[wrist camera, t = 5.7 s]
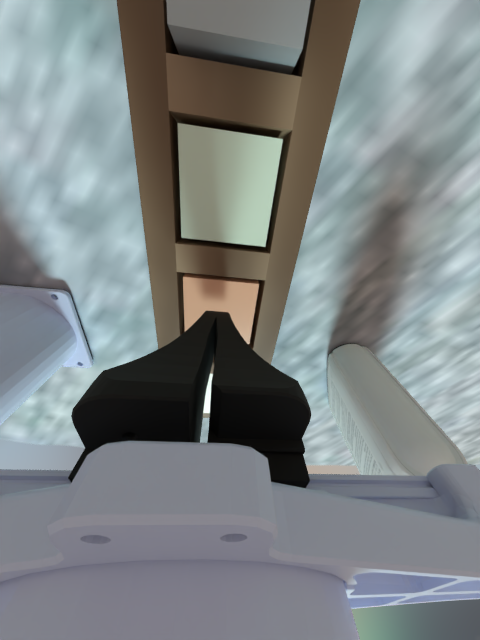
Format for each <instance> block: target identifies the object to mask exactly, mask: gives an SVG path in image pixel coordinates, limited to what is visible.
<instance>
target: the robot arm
mask: <svg viewBox="0 0 480 640" xmlns="http://www.w3.org/2000/svg"><path fill="white" fill-rule="evenodd" d="M54 294H55V295H57V297H58V298H57V297H56V296H55V295H54ZM213 358H214V370H213V377H212V383H211V400H210V419H209V433H208V443H200V436H201V427H202V419H203V410H204V402H205V395H206V389H207V385H208V380H209V376H210V372H211V367H212V363H213ZM92 365H93V360H92V357H91V354H90V351H89V348H88V345H87V342H86V339H85V336H84V333H83V330H82V328H81V325H80V322H79V319H78V316H77V313H76V310H75V307H74V304H73V301H72V298H71V296H70V294H69V293H68V292H67V291H64V290H57V289H45V288H34V287H22V286H10V285H0V425H1V424H2V423H3V422H4V421H5V420H6V419H7V418H8V417H9V416H10V415H11V414H12V413H13V412H14V411H15V410H17V409H18V408H19V407H20V406H21V405H22V404H23V403H24V402H25V401H26V400H27V399H28V398H29V397H30V396H31V395H32V394H33V393H34V392H35V391H36V390H37V389H38V388H39V387H40V386H41V385H42V384H44V383H45V382H46V381H47V380H48V379H49V378H50V377H51V376H52V375H53V374H54V373H55V372H56V371H57V370H58V369H59V368H60V367H61V366H62V367H80V368H90V367H91V366H92ZM310 418H311V411H310V407H309V404H308V402H307V399H306V397H305V395H304V392H303V391H302V389H301V387H300V385H299V383H298V381H296V380H295V379H293V378H291V377H289V376H288V375H286V374H284V373H282V372H281V371H279V370H277V369H276V368H275V367H273V366H272V365H270V364H269V363H268V362H266V361H265V360H264V359H263V358H261V357H260V356H259V355H258V354H257V353H256V352H255V351H254V350H253V349H252V348H251V347H250V346H249V345H248V344H247V343H246V341H245V340H244V339H243V337H242V336H241V335H240V333H239V331H238V330H237V328H236V327H235V325H234V323H233V321H232V319H231V316H230V314H229V313H228V312H219V311H205V312H204V313H203V314H202V316H201V317H200V318H199V319H198V320H197V321H196V322H195V323H194V324H193V325H192V326H191V327H190V328H189V329H188V330H186V331H185V332H184V333H183V334H182V335H180V336H179V337H178V338H176V339H175V340H174V341H172V342H171V343H169V344H167V345H165V346H164V347H162V348H160V349H158V350H156V351H154V352H152V353H150V354H148V355H146V356H144V357H141V358H139V359H137V360H134V361H132V362H129V363H126V364H123V365H120V366H117V367H114V368H111V369H108V370H105V371H103V372H102V373H101V374H100V375H99V376H98V377H97V378H96V380H95V381H94V382H93V383H92V385H91V386H90V387H89V389H88V390H87V391H86V393H85V394H84V395H83V397H82V398H81V399H80V400H79V402H78V403H77V404H76V406H75V407H74V408H73V411H72V420H73V424H74V426H75V428H76V430H77V432H78V434H79V436H80V438H81V440H82V442H83V444H84V446H85V450H84V452H83V453H82V455H81V457H80V458H79V460H78V462H77V464H76V465H75V467H74V469H73V470H72V471H70V470H69V471H66V470H2V469H0V640H360V638H359V635H358V631H357V628H356V624H355V621H354V618H353V614H352V611H351V609H355V608H366V607H377V606H389V605H400V604H413V603H424V602H437V601H450V600H467V599H480V470H479V469H478V468H477V467H476V466H475V465H472V464H441V465H438V466H436V467H434V468H432V469H431V470H430V471H429V472H428V473H427V475H426V476H407V475H340V474H338V475H337V474H334V475H333V474H308V471H307V468H306V464H305V460H304V457H303V454H304V452H305V448H304V444H303V441H302V437H303V435H304V433H305V430H306V428H307V426H308V424H309V422H310Z"/></svg>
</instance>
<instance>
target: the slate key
mask: <svg viewBox="0 0 480 640" xmlns="http://www.w3.org/2000/svg"><path fill="white" fill-rule="evenodd" d="M166 2H167V24H168V27H169V29H170V32H171V35H172V37H173V40H174V43H175V45H176V48H177V51H178V53H179V55H182V56H187V57H193V58H198V59H204V60H210V61H215V62H221V63H226V64H232V65H238V66H243V67H249V68H254V69H260V70H266V71H271V72H277V73H283V74H288V75H291V74H292V71H293V69H294V67H295V65H296V63H297V60H298V58H299V56H300V54H301V52H302V49H303V43H304V37H305V31H306V26H307V20H308V14H309V8H310V2H311V0H166Z"/></svg>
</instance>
